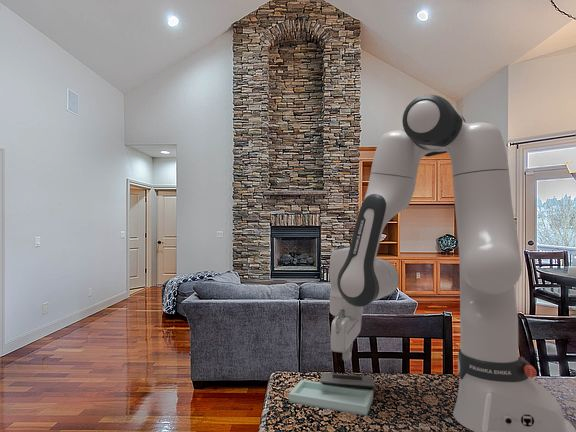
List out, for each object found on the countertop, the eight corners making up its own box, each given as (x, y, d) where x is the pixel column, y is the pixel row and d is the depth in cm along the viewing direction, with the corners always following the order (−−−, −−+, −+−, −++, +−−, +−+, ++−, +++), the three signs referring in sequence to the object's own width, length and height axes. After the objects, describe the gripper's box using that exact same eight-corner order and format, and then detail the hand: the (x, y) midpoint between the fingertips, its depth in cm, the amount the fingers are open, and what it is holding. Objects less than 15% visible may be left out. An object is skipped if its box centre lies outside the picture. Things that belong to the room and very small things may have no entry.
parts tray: (373, 398, 94) (373, 390, 94) (366, 416, 86) (366, 406, 86) (301, 387, 101) (301, 379, 101) (288, 402, 92) (288, 393, 92)
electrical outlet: (371, 384, 104) (371, 375, 104) (375, 394, 94) (375, 383, 94) (321, 380, 105) (321, 371, 106) (320, 389, 95) (321, 379, 96)
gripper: (349, 316, 93) (350, 374, 93) (365, 300, 112) (365, 348, 112) (324, 314, 95) (324, 371, 95) (343, 299, 114) (344, 346, 114)
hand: (347, 358), depth 104 cm, fingers closed
